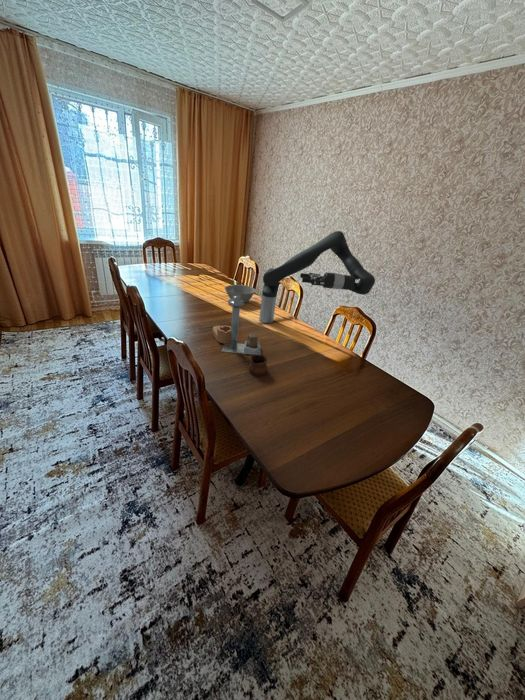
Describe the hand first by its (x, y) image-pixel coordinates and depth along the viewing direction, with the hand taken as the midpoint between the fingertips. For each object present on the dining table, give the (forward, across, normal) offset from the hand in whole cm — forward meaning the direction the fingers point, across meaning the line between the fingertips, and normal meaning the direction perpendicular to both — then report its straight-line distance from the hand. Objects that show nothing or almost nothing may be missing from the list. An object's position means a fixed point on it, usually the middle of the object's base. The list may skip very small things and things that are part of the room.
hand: (301, 277), depth 142 cm
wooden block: (+21, +10, +38) cm, 44 cm away
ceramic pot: (+17, +30, +39) cm, 52 cm away
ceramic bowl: (+33, -63, +38) cm, 81 cm away
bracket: (+38, -2, +38) cm, 54 cm away
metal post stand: (+26, +10, +38) cm, 47 cm away
